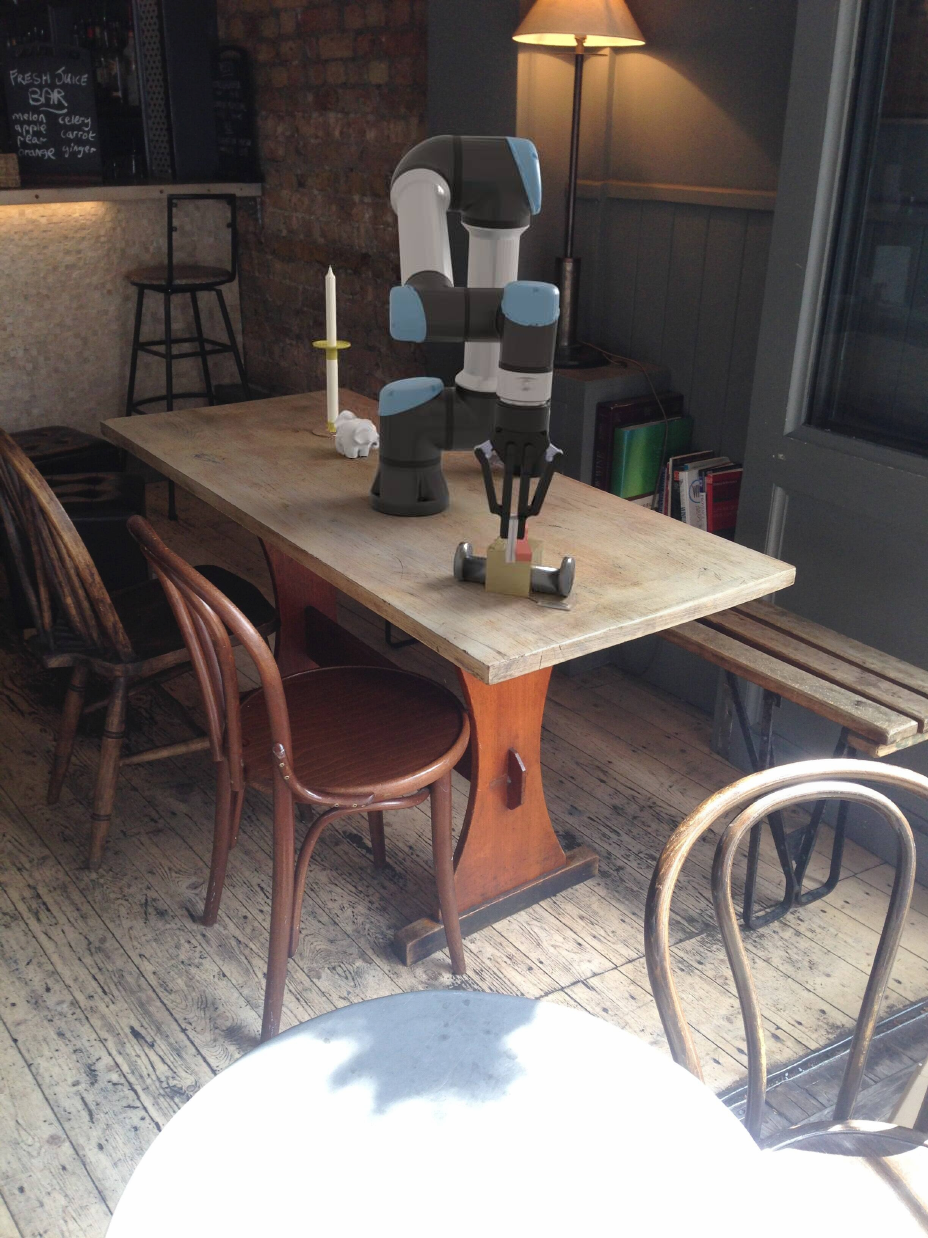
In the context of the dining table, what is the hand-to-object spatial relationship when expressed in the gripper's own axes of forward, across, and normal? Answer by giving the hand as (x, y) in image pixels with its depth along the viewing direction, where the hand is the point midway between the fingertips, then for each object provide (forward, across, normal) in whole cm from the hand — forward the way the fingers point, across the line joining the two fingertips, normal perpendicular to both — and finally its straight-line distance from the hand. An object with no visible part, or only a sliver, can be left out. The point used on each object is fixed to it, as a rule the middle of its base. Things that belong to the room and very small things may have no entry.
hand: (510, 559), depth 160 cm
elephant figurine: (+9, -28, +83) cm, 88 cm away
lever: (-1, +2, +4) cm, 4 cm away
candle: (+9, -35, +102) cm, 108 cm away
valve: (+8, +2, +8) cm, 11 cm away
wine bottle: (+8, +8, +72) cm, 73 cm away
